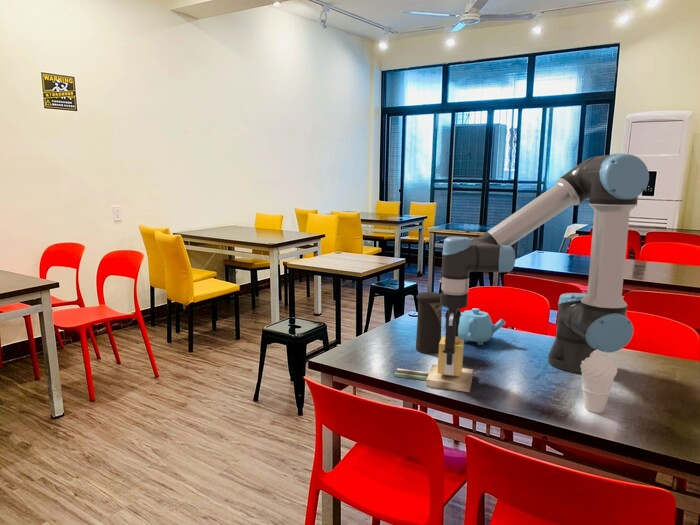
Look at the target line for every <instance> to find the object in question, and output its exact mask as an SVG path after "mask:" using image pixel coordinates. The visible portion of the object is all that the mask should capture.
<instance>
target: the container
mask: <svg viewBox="0 0 700 525" xmlns="http://www.w3.org/2000/svg"><path fill="white" fill-rule="evenodd" d="M440 298H441V293H439V292H433V291H423V292H420V293H418V294H417V295H416V299H417V319H416V320H417V321H416V322H417V324H416V339H415V350H416V351H417V352H419V353H421V354H431V355H432V354H439V343H440V340H441V338H442V323H443V322H442V319H443V318H442V317H443V316H442V313H443V310H442V309H443V306H442V305H441V304H440Z"/></svg>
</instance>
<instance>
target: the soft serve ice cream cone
mask: <svg viewBox="0 0 700 525" xmlns="http://www.w3.org/2000/svg"><path fill="white" fill-rule="evenodd" d="M581 363H582V364H581V365H580V367H581V368H582V369H581V372H582V373H581V377H582V382H581V383H582V385H581V389H582V395H583V404H584V409H585V410H586V411H589V412H591V413H593V414H594V413H595V414H601V413H604V412H605V411H604V410H605V408H606V406H607V403H608V400H609V396H610V395H611V393H612V386H613V382H614V380H615V377H616V376H617V373H618V367H617V365H616V364H615V363H614V362H613V360H611V359H610V358H609V357H608V356H605V355H604V354H602V351H599V350H598V349H597V350H595V351H593V352H592V353H591V354H590V357H588V358H585V360H583V361H582V362H581Z"/></svg>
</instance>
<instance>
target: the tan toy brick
mask: <svg viewBox="0 0 700 525" xmlns="http://www.w3.org/2000/svg"><path fill="white" fill-rule="evenodd" d="M445 336H446V335H444V336H441V340H440V343H439V352H438V356H437V357H438V358H437V365H438V373H439V374H444V362H445V353H442V351H444V350H445ZM464 347H465V342H464V339H461V338H460V337H458V336H456V338H455V350H454V351H455V363H454V376H461V372H462V368H464V367H463V366H464V365H463V362H464V349H465V348H464Z"/></svg>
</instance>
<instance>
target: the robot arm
mask: <svg viewBox="0 0 700 525" xmlns="http://www.w3.org/2000/svg"><path fill="white" fill-rule="evenodd" d="M649 181H650V172H649V170H648V167H647V165H646V163H645V162H644V161H643V160H642V159H641V158H640V157H638V156H637V155H636V156H635V155H633V154H629V153H619V152H618V153H613V154H605V155H604V154H603V155H595V156H593V157H590V158H587V159H586V160H583V161H582V162H581V163H579V164H577V165H576V166H574V167H573V168H572V169H570V170H569V171H568V172H566V173H565V174H563V175H562V176H561V177H559V178H557V180H556V184H555V185H553V186H552V187H551V188H549V189H547V190H546V191H545V192H542V194H539V196H537V197H536V198H534V199H533V200H531V201H530V202H529V203H527V204H526V205H524V206H522V207H520V209H518V210H517V211H515V212H514V213H512V214H511V215H510V216H508V217H506V218H505V219H503V220H502V221H501V222H499V223H498V224H496V225H495V226H493V227H492V228H491V229H489V230H487V231H485V233H483V234H481V235H480V236H479V237H473V238H470V237H467V236H448V237H446V238H445V239H444V240H443V246H442V253H441V255H442V258H441V259H442V260H441V262H442V263H441V278H440V279H439V282H438V283H441V284H440V285H441V287H440V289H441V292H440V294H441V298H440V304H441V305H442V307H444V308H448V309H447V310H446V312H445V316H444V318H445V335H444V336H445V350H444V351H442V353H445V362H444V374H445V375H452V376H454V363H455V351H454V350H455V338H456V336H458V328H459V323H460V316H461V313H462V311H460V310H461V309H464V308H465V309H466V307H467V306H468V302H469V301H468V299H469V294H468V292H469V286H470V272H473V273H475V272H482V273H483V272H484V273H490V272H491V273H509V272H511V271H513V269H514V267H515V264H516V254H515V252H516V251H515V249H514V248H513V246H512V245H514V244H515V243H517V242H518V241H520V240H521V239H523V238H525V237H526V236H528V235H529V234H530V233H531V232H533V231H535V230H537V229H538V228H540V227H541V226H542V225H544V224H545V223H547V222H548V221H550V220H551V219H553V218H554V217H556V216H557V215H559V214H561V213H562V212H563V211H564V210H566V209H567V208H570V206H578V205H580V204H581V203H583V202H585V201H587V200H588V205H589V206H590V207H591V208H592V209H593V212H594V213H593V221H592V222H593V223H592V224H593V225H592V234H591V236H592V237H591V247H590V256H589V257H590V259H589V260H590V261H589V272H588V283H587V293H584V292H583V293H582V292H579V293H578V292H566V293H562V294H560V296H559V299H558V302H557V308H558V309H557V318H556V319H557V320H556V322H557V323H556V334H555V339H554V342H553V344H552V346H551V348H550V351H549V353H548V355H547V356H548V357H547V362H548V364H550V365H551V366H552V367H554V368H556V369H559V370H563V371H566V372H570V373H577V374H582V372H581V369H582V368H581V367H580V365H581V364H582V363H581V362H582V361H583V360H585V358H588V357H590V354H591V353H592V352H593V351H595V350H597V349H598V350H599V351H600V352H601V353H602V352H604V353H615V352H617V351H620V350H622V349H623V348H624V347H626V346H627V345H628V344H629V343H630V342H631V340H632V338H633V335H634V325H633V323H632V321H631V320H630V319H629V318H628V317H627V311H628V304H627V302H626V301H625V300H624V299H623V296H622V295H623V286H624V278H625V277H624V274H625V265H626V255H627V245H628V235H629V234H628V233H629V226H630V225H629V223H630V214H631V211H632V210H633V209H634V208H636V207H637V206H638V199H639V196H641V195H642V193H643V192H644V191H645V190H646V189H647V188H648V185H649Z"/></svg>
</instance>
